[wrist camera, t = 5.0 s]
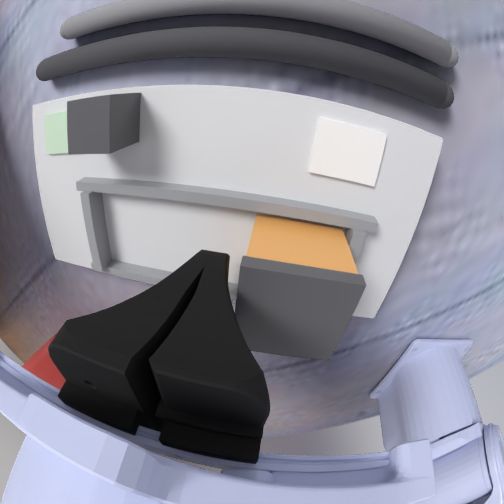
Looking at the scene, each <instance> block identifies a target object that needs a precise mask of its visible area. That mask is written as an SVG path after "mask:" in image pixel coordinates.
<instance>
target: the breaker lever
mask: <svg viewBox="0 0 504 504" xmlns="http://www.w3.org/2000/svg"><path fill="white" fill-rule="evenodd" d="M365 288H366V283H365V280H364V277H363V275H361V274H358V271H357V268H356V265H355V262H354V259H353V257H352V254H351V251H350V248H349V245H348V242H347V240H346V237H345V234H344V232H343V229H338V228H333V227H327V226H322V225H316V224H311V223H305V222H299V221H294V220H288V219H282V218H276V217H270V216H263V215H256V218H255V222H254V226H253V230H252V234H251V238H250V243H249V247H248V251H247V255H246V256H243V257H242V261H241V264H240V271H239V280H238V289H237V298H236V307H235V316H236V319H237V322H238V325H239V328H240V330H241V332H242V334H243V337H244V339H245V341H246V343H247V345H248V347H249V349H250V351H256V352H263V353H270V354H277V355H285V356H293V357H301V358H311V359H321V360H329V359H330V357H331V356H332V354H333V352H334V350H335V348H336V346H337V345H338V343H339V341H340V339H341V337H342V335H343V333H344V331H345V329H346V327H347V325H348V323H349V321H350V319H351V317H352V315H353V313H354V311H355V309H356V307H357V305H358V303H359V301H360V299H361V296H362V294H363V292H364V290H365Z"/></svg>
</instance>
